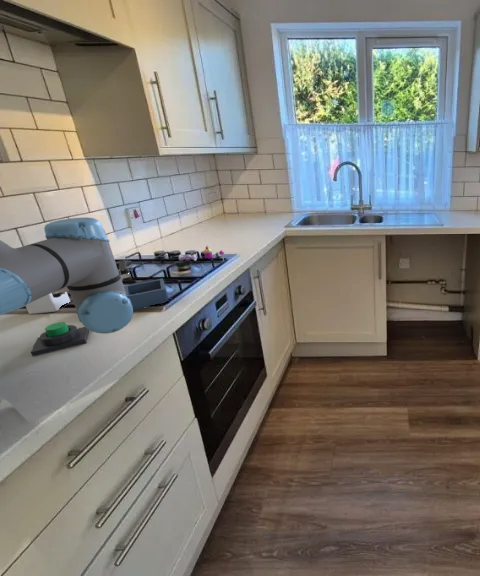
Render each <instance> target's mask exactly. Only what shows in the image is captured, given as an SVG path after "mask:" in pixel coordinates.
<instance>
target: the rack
mask: <svg viewBox="0 0 480 576" xmlns="http://www.w3.org/2000/svg"><path fill="white" fill-rule="evenodd" d="M123 286H124V289H125V292H126V295H127V297H128V298H129V299H130V301H131V304H132V308H133V312H134V311H139V310H142V309H141V308H143V309H145V308H144V307H147V306H150V305H155V304H158V303H162V302H166V301H169V302H170V300H168V299H169V296H168V291H167V289H166V284H165V281H164V278H158V279H152V280H147V281H142V282H138V283H132V284H128V285H123ZM136 293H138V294H136ZM147 308H148V307H147Z"/></svg>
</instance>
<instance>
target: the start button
mask: <svg viewBox="0 0 480 576" xmlns="http://www.w3.org/2000/svg"><path fill="white" fill-rule="evenodd" d="M67 325H68V324H67V323H66V322H65V321H60V322H54V323H51V324H48V325H47V326H46V327H45V328H44V330H45V331H44V332H46V333H47V335H48V337H54V336H59V335H62V334H64V333H67V332H68V331H69V329H68V326H67Z"/></svg>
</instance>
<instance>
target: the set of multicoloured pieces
mask: <svg viewBox="0 0 480 576" xmlns="http://www.w3.org/2000/svg"><path fill="white" fill-rule="evenodd" d="M218 252H219V254H220V255H221V258H222V262H224V261H225V259H224V255H225V251H224V250H219V251H218ZM203 253H204V257H205V259H207V260H208V259H209V260H210V259H212V258H213V257H214V256H213V251H212V249H211V248H209V246H205V249H204V251H203ZM197 257H198V256H197V255H196V253H193V254H192V255H191V254H184V255H182V254H179V255H178V260H179V262H183V261H185V262H191V261H197Z"/></svg>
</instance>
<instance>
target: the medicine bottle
mask: <svg viewBox="0 0 480 576" xmlns="http://www.w3.org/2000/svg"><path fill="white" fill-rule="evenodd" d="M69 302H70V303H71V299H70V296H69V294H68V292H65V294H62V295H61V296H60V297H58V298H54V297H53V295H52V293H50V294H48V295H46V296H44V297H41V298H39V299H37V300H35V301H33V302H31V303H29V304H27V305H26V306H25V308H26V311H27V313H28V314H29V315H36V314H46V313H56V312H59V310H60V309H59V308H60V307H61V306H62V305H64V304H66V303H68V304H69Z"/></svg>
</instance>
